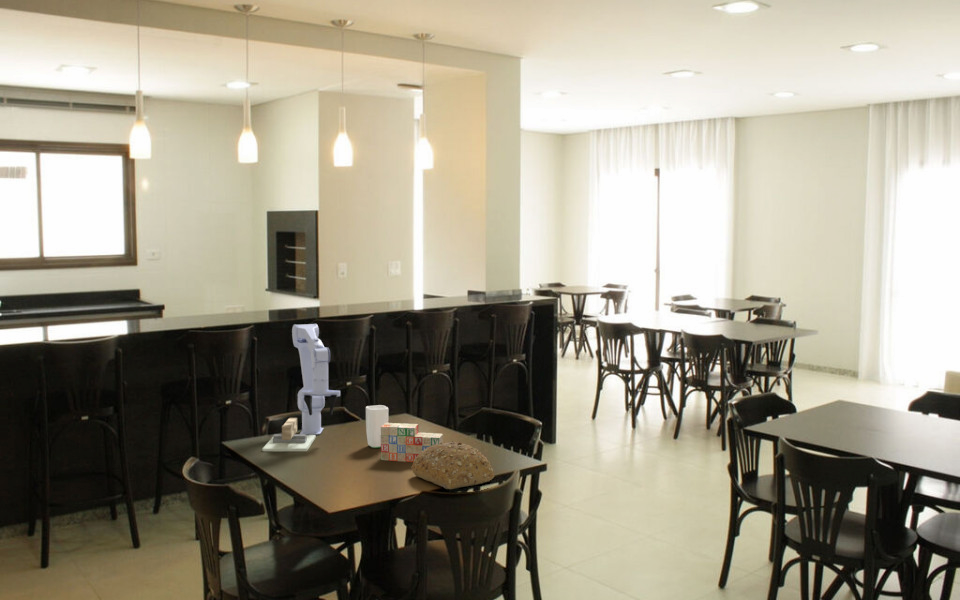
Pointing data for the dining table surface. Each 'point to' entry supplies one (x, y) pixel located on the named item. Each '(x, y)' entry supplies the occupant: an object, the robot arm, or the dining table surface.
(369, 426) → the cup
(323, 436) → the dining table surface
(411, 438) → the stack of blocks
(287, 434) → the beech rod
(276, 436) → the fulcrum stand
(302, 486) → the dining table surface
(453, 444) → the bread
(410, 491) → the dining table surface
